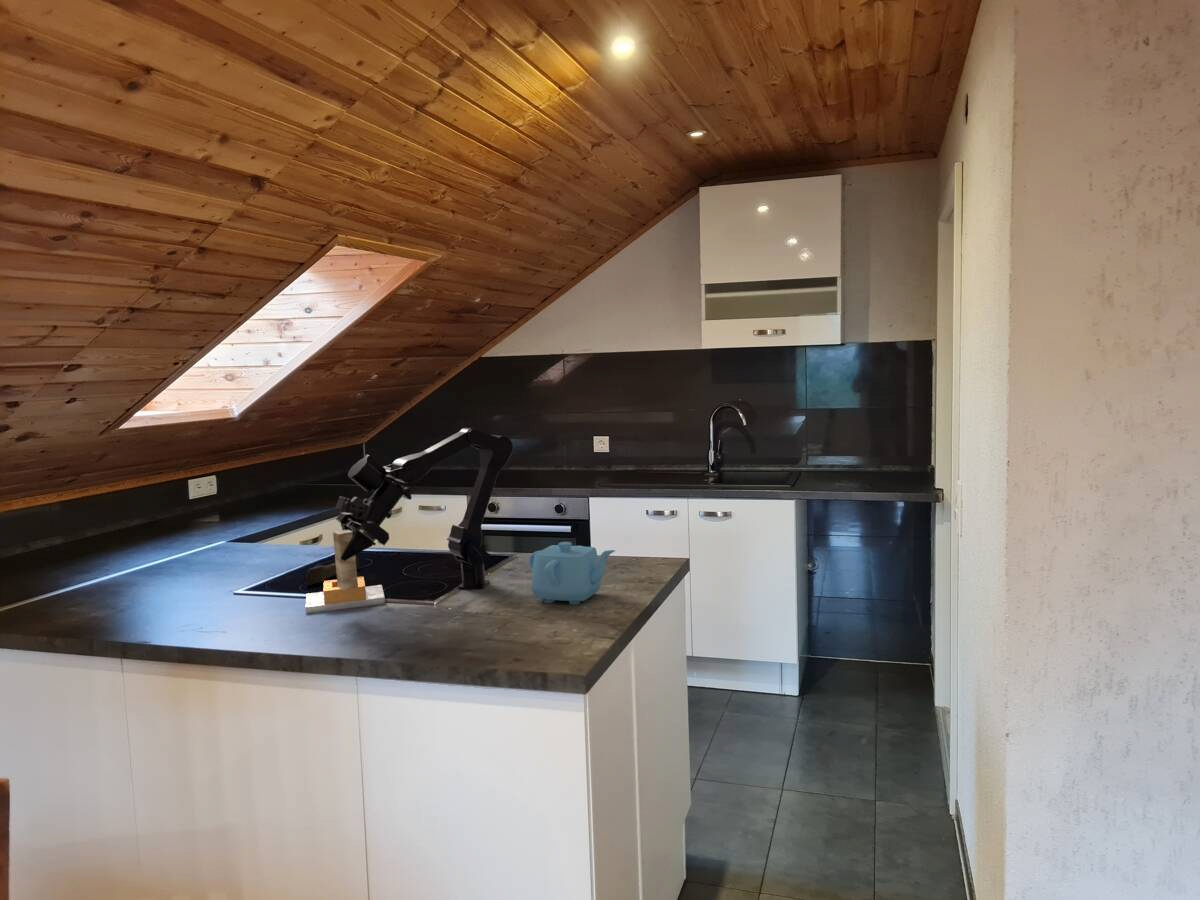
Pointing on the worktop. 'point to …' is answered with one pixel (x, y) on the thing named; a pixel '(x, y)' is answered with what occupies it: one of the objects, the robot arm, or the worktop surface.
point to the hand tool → (323, 572)
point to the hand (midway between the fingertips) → (339, 558)
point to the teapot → (567, 572)
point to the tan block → (344, 568)
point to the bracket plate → (320, 606)
